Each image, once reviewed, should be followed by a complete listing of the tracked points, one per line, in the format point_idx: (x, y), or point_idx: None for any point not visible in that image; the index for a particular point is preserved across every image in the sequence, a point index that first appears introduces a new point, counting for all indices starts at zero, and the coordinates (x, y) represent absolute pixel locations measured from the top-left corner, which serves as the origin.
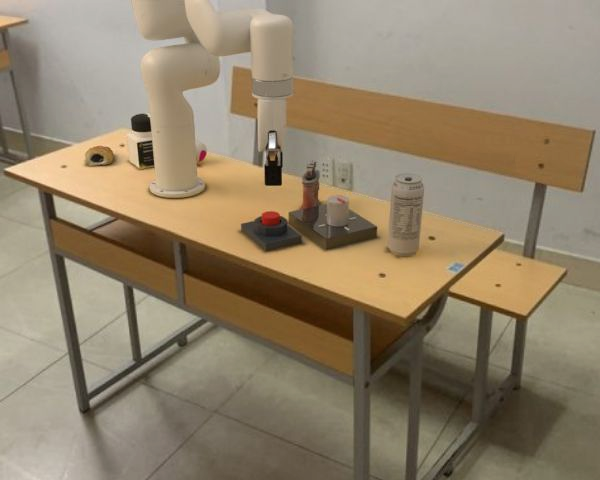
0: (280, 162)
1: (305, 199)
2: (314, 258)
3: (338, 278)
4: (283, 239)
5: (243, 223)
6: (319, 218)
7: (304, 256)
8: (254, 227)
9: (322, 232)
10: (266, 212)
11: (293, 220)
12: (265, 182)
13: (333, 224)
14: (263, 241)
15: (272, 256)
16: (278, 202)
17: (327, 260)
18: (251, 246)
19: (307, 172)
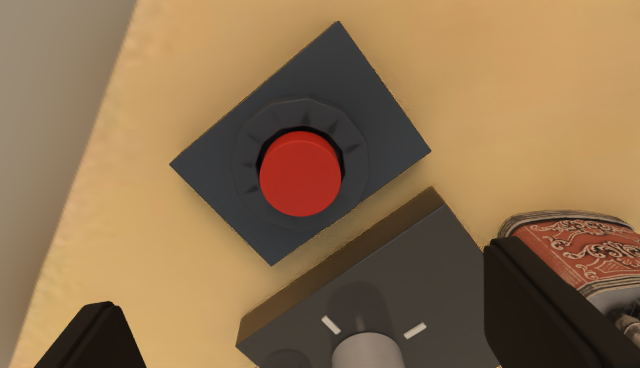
0: (504, 363)
1: None
2: (180, 298)
3: None
4: (224, 216)
5: (343, 32)
6: (393, 309)
7: (184, 271)
8: (269, 101)
9: (279, 332)
10: (321, 157)
11: (407, 216)
12: (77, 320)
13: (333, 359)
14: (186, 152)
15: (153, 181)
16: (631, 114)
17: (178, 329)
18: (209, 94)
19: (636, 340)
